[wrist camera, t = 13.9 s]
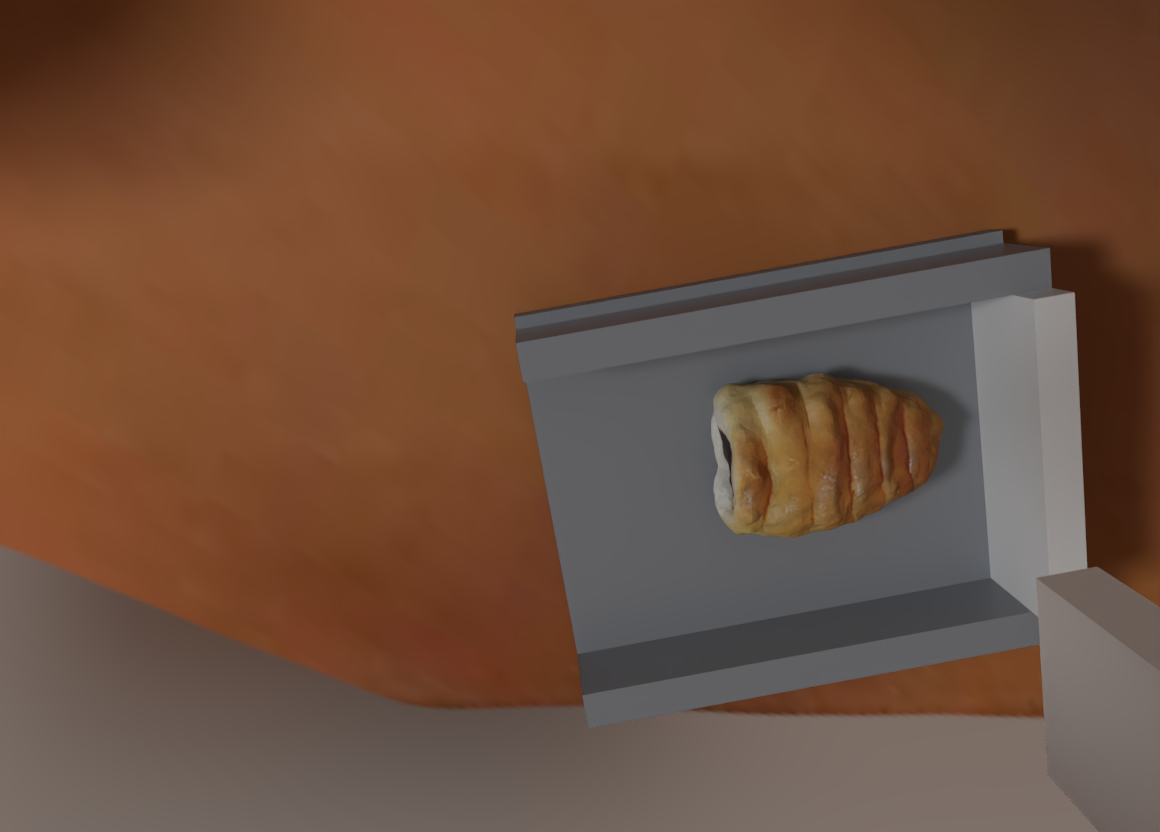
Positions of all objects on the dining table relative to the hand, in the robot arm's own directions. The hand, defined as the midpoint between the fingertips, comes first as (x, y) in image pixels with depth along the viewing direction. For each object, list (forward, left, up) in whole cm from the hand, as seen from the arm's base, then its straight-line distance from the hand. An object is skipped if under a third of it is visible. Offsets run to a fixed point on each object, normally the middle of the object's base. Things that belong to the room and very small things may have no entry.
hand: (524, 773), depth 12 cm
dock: (+10, -6, -29) cm, 31 cm away
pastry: (+11, -5, -28) cm, 30 cm away
